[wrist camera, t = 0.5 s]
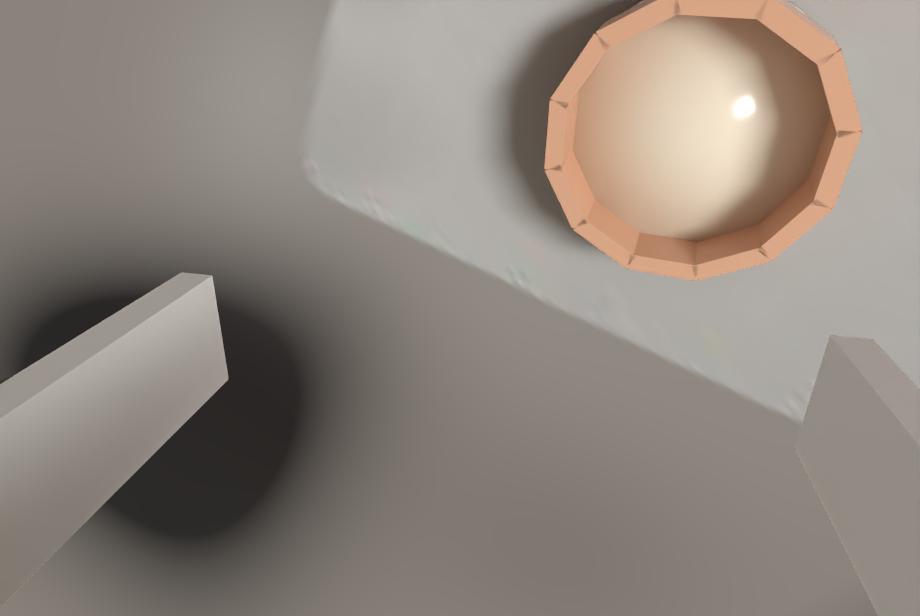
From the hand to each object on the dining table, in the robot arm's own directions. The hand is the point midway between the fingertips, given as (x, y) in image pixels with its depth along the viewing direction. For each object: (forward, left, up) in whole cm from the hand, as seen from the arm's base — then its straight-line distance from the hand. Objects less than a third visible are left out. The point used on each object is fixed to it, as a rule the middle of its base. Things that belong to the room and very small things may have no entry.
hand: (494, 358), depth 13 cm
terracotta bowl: (-1, +4, -27) cm, 28 cm away
